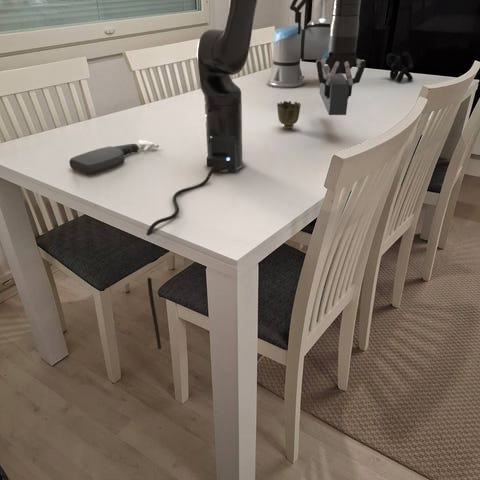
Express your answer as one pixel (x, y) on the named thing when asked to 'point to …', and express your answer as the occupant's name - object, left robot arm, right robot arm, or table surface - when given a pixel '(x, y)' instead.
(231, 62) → the left robot arm
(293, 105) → the cup
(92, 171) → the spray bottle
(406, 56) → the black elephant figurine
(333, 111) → the bar
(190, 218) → the table surface
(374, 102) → the table surface
